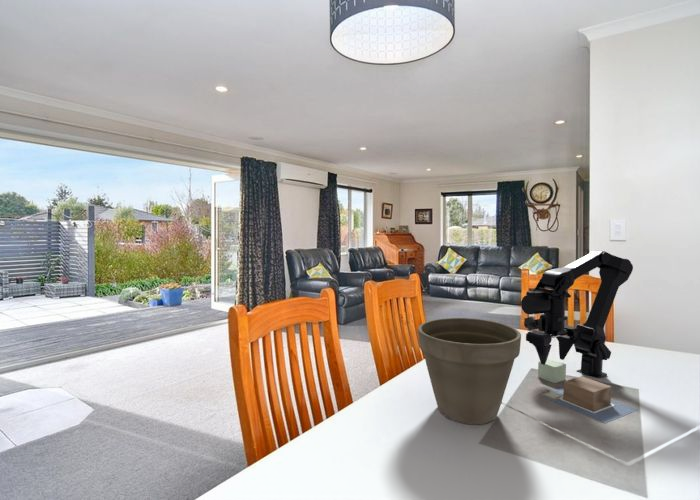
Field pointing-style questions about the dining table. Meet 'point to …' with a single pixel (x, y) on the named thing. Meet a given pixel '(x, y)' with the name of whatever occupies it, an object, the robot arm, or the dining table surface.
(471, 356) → the plant pot
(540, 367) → the sage cube
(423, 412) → the dining table surface
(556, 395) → the board
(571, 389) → the walnut base block
